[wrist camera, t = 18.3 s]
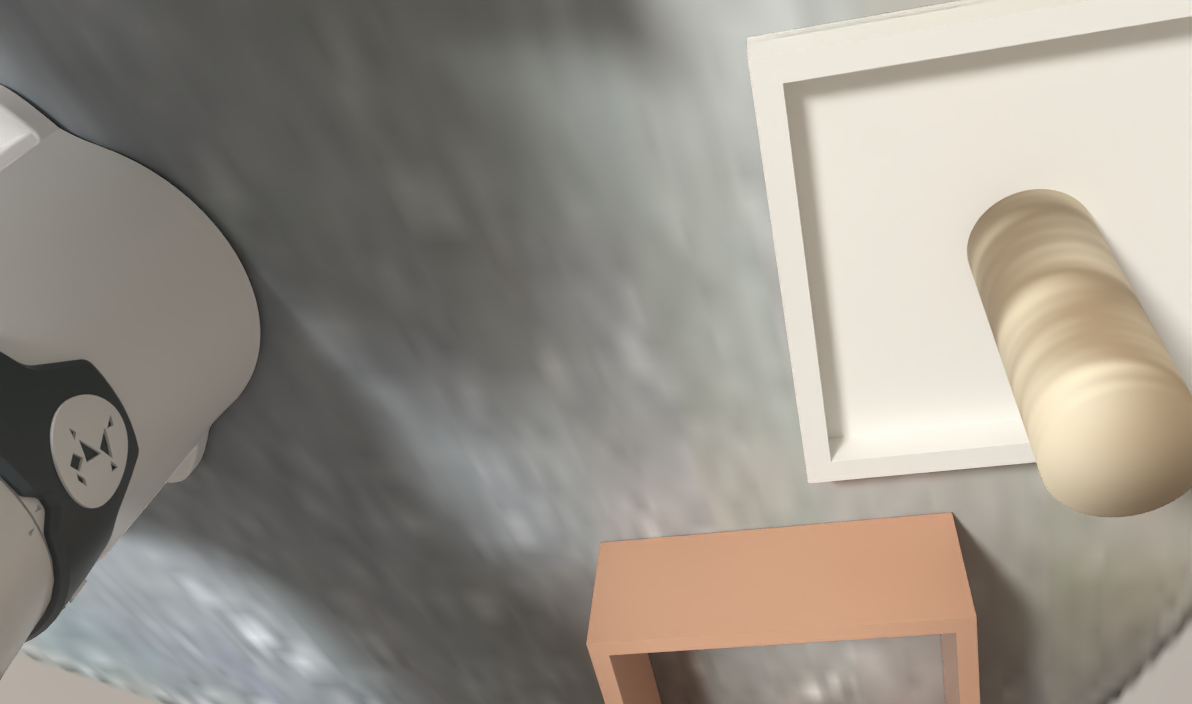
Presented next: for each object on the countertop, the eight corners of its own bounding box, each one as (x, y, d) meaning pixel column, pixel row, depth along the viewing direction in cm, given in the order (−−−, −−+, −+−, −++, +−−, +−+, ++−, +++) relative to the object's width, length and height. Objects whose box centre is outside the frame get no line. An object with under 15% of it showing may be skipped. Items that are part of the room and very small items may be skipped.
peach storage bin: (660, 755, 60) (654, 860, 55) (600, 542, 52) (586, 643, 47) (964, 741, 57) (986, 851, 52) (952, 512, 48) (976, 617, 43)
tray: (805, 450, 47) (808, 483, 46) (747, 37, 38) (747, 59, 36) (1271, 404, 44) (1293, 438, 42) (1337, -66, 34) (1369, -47, 32)
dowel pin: (968, 303, 42) (1039, 523, 32) (964, 198, 40) (1039, 400, 30) (1094, 288, 41) (1206, 509, 31) (1097, 180, 39) (1219, 382, 29)
